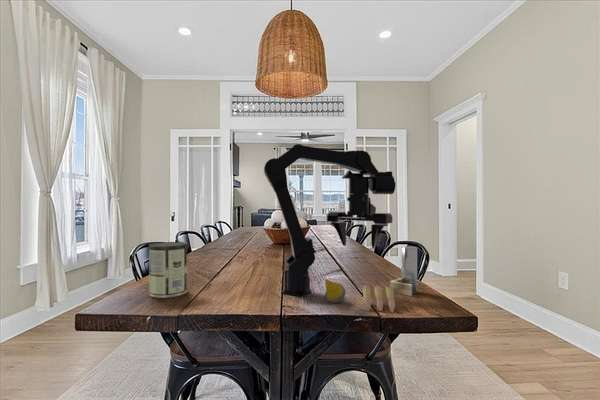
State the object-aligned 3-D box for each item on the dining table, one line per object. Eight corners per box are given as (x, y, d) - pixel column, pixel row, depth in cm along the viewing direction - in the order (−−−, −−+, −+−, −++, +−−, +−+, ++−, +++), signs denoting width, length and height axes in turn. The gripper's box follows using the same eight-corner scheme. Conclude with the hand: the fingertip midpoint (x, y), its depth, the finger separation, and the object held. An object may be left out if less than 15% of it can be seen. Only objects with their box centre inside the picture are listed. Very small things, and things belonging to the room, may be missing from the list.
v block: (395, 296, 101) (395, 285, 101) (385, 287, 110) (385, 278, 110) (413, 295, 101) (413, 285, 101) (402, 287, 110) (402, 278, 110)
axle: (398, 291, 106) (398, 247, 106) (406, 289, 109) (406, 246, 109) (412, 294, 102) (412, 248, 102) (420, 291, 105) (420, 247, 105)
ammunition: (363, 284, 95) (364, 291, 87) (391, 285, 94) (396, 293, 86) (362, 302, 95) (364, 311, 87) (391, 303, 94) (395, 313, 86)
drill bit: (351, 304, 94) (337, 283, 88) (332, 311, 95) (317, 291, 89) (346, 288, 98) (333, 267, 92) (329, 295, 99) (314, 275, 93)
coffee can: (164, 287, 109) (164, 241, 109) (194, 290, 106) (194, 242, 106) (140, 296, 99) (140, 245, 99) (172, 299, 96) (173, 246, 96)
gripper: (398, 194, 108) (398, 246, 108) (342, 194, 118) (342, 242, 118) (385, 193, 99) (385, 250, 99) (326, 194, 109) (325, 245, 109)
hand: (358, 246), depth 106 cm, fingers open, 9 cm apart
